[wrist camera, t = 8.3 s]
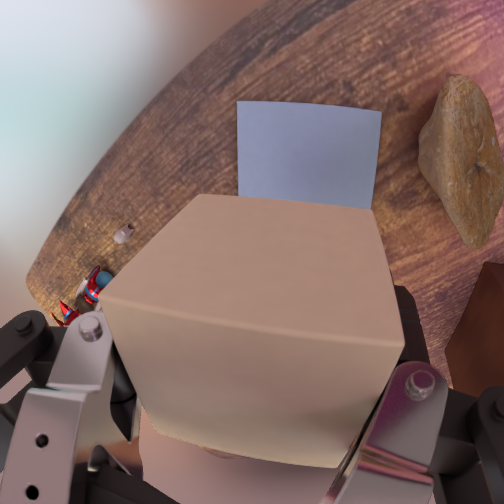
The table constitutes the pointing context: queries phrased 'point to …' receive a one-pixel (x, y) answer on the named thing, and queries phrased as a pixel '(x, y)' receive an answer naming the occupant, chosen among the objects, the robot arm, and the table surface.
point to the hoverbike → (86, 296)
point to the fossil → (464, 159)
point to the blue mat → (307, 152)
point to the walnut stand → (480, 338)
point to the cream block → (259, 326)
